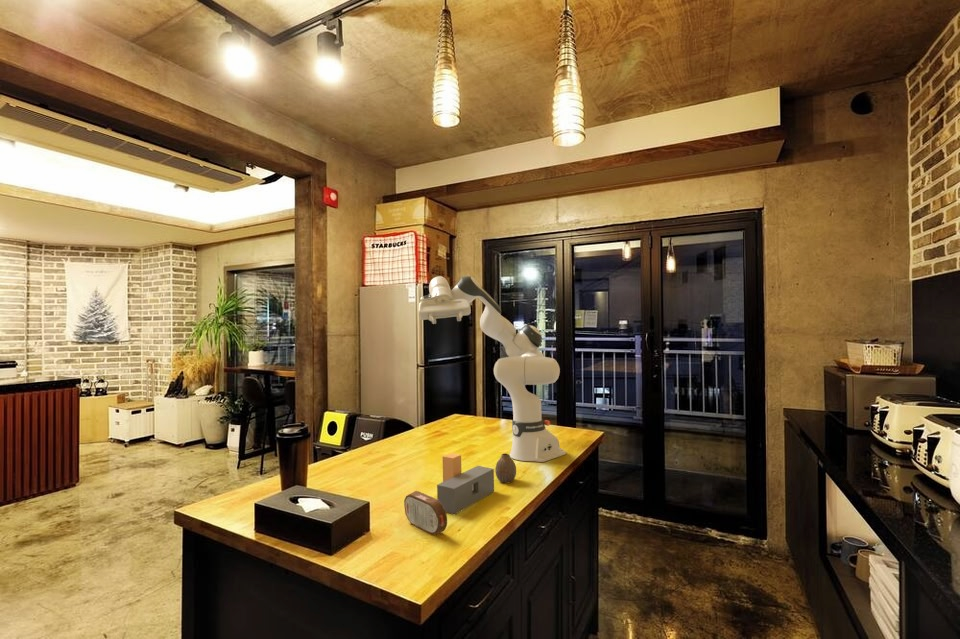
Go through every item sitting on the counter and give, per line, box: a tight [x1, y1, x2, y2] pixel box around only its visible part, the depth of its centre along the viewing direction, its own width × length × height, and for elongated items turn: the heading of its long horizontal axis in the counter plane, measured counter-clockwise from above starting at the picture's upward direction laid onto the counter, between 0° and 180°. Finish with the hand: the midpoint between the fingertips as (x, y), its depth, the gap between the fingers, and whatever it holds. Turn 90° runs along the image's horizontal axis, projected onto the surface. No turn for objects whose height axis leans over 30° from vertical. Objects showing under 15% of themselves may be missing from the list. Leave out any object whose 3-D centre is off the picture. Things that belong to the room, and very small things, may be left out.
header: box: [436, 465, 495, 515], centre depth 132 cm, size 6×20×7 cm, turn 145°
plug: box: [442, 452, 474, 491], centre depth 134 cm, size 9×4×12 cm, turn 55°
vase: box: [494, 452, 517, 484], centre depth 148 cm, size 7×7×9 cm
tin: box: [403, 490, 448, 536], centre depth 114 cm, size 15×3×8 cm, turn 45°
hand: (446, 320), depth 168 cm, fingers open, 8 cm apart
